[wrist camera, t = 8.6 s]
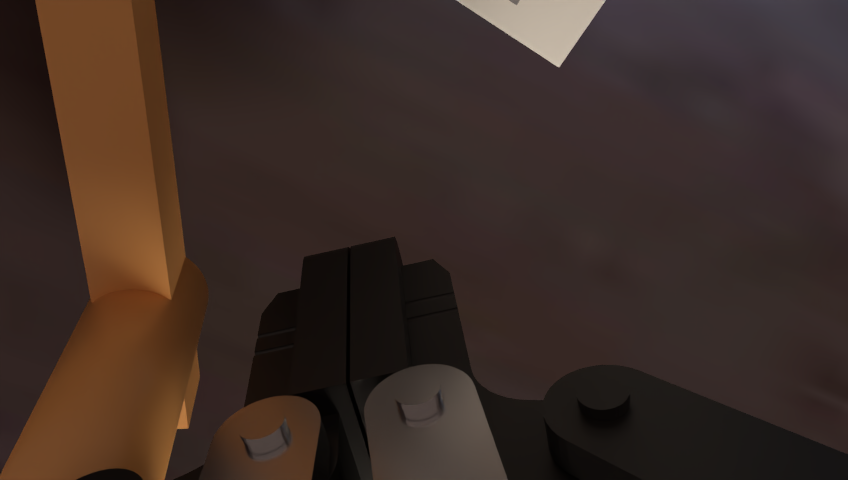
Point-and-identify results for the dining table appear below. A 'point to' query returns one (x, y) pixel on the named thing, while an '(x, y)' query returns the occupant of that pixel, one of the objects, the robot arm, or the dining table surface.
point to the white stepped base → (540, 22)
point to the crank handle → (117, 255)
